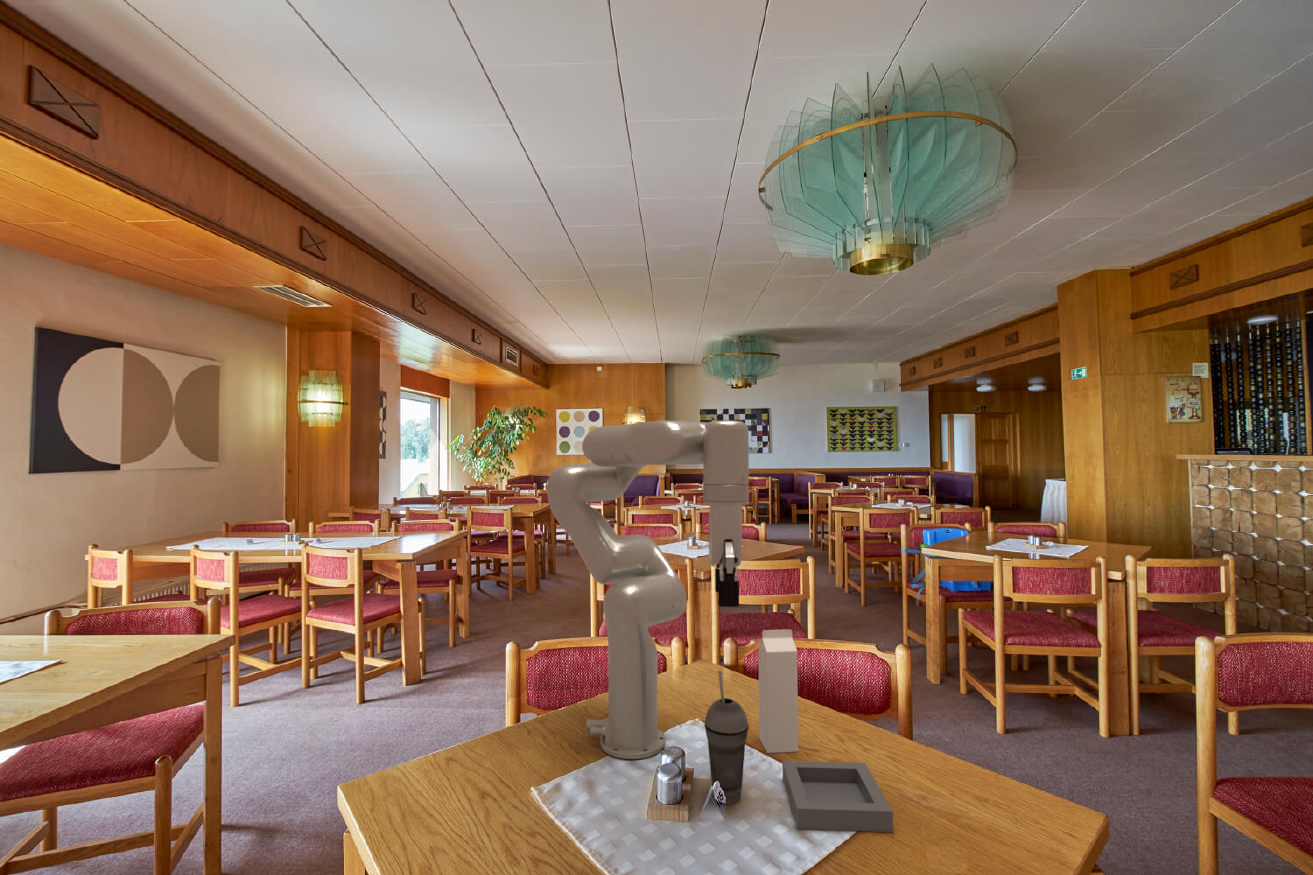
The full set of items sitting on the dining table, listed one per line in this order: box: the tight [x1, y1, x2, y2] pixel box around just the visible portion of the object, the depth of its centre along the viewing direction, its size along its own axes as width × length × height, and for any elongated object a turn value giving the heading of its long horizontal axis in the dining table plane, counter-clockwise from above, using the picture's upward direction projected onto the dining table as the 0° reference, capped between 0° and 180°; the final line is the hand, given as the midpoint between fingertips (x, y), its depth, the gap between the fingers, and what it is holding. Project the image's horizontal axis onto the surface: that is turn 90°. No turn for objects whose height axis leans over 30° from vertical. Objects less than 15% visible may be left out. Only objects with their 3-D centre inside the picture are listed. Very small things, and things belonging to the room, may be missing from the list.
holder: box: [782, 760, 894, 833], centre depth 96 cm, size 14×14×3 cm
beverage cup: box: [703, 670, 749, 805], centre depth 98 cm, size 7×7×20 cm
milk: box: [758, 629, 799, 754], centre depth 115 cm, size 6×6×22 cm
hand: (726, 598), depth 99 cm, fingers open, 9 cm apart
